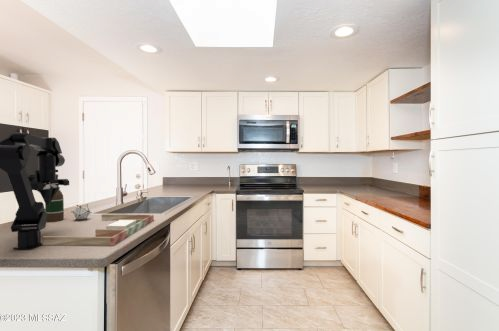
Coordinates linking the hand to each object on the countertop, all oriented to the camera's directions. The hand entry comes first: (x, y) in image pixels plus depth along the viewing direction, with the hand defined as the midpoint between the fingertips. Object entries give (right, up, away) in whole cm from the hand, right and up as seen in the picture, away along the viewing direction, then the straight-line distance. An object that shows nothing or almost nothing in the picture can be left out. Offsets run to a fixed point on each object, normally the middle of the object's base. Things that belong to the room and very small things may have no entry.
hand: (47, 204), depth 112 cm
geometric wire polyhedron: (-4, -12, +28) cm, 31 cm away
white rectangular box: (+27, -13, +8) cm, 32 cm away
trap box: (+21, -13, +8) cm, 26 cm away
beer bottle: (-17, -12, +27) cm, 34 cm away
